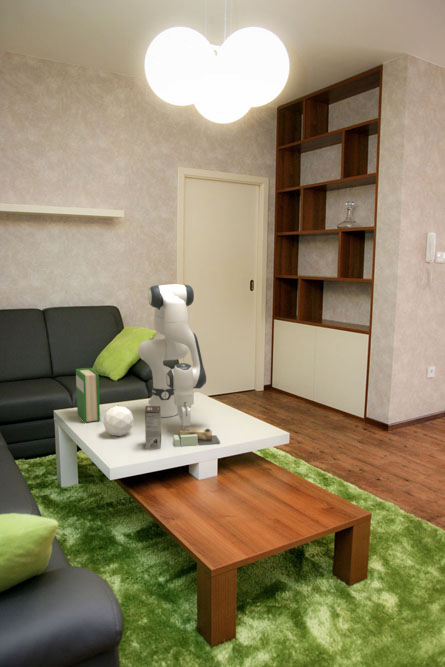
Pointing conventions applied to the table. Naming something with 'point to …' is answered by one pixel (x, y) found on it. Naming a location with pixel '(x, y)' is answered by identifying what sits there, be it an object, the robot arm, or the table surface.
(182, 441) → the seat bracket
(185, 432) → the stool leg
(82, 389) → the hardback book
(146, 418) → the coffee box
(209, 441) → the pin plate
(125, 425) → the geodesic sphere
